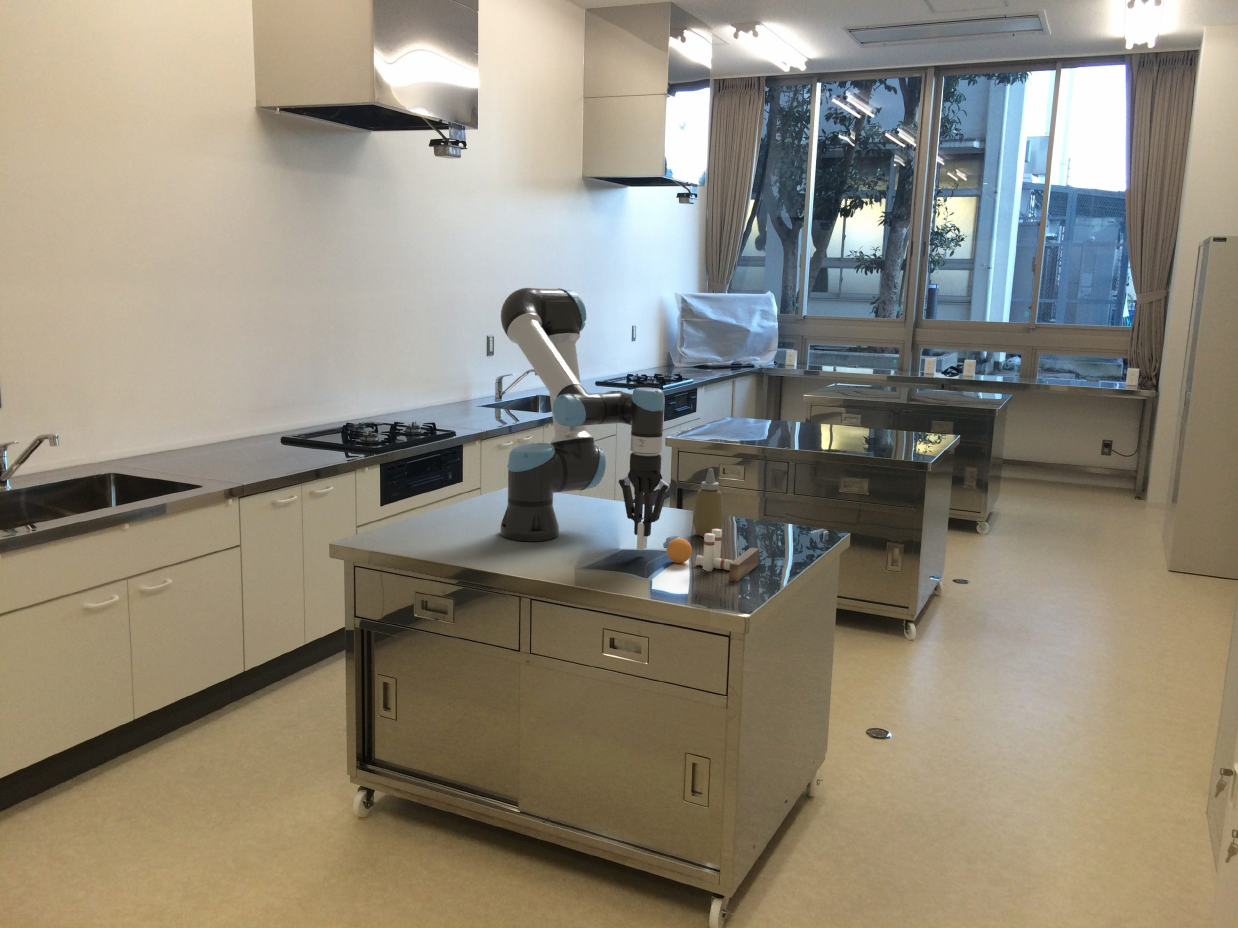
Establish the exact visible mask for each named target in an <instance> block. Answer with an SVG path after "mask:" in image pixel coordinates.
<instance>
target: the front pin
mask: <svg viewBox="0 0 1238 928" xmlns="http://www.w3.org/2000/svg"><path fill="white" fill-rule="evenodd" d="M732 561H733V559H726V558H721V557H720V558H714V559H713V569H719V570H724V571H725V570H726V571H729V570H730V563H731V562H732ZM694 564H695V565H696V566H699V565H701V567H703V555H700V554H697V555H696V557H695V563H694Z"/></svg>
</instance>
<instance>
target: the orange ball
mask: <svg viewBox="0 0 1238 928" xmlns="http://www.w3.org/2000/svg"><path fill="white" fill-rule="evenodd" d="M692 552H693V548H692V545H691V543H690V542H689V541H688V540H687V539H685V538H684V537H683V538H681V537H676V538H673V539H672V540H671V541H670V542H668V545H667V547H666V555H667V557H668V558H669V560H670V561H672V562H673V563H676V564H683V563H686V562H687V561H689V559H690V558H691V556H692V554H693V553H692Z"/></svg>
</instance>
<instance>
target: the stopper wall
mask: <svg viewBox="0 0 1238 928" xmlns="http://www.w3.org/2000/svg"><path fill="white" fill-rule="evenodd" d="M759 551H760V549H759V548H757V547H750V548H748V549H747V550H746V551H744V552H743V553H742V554H740V555H739V556H738V557H736V558H735V559H734V560H732V562H731V563H730V570H728V571H729V572H728V574H729V575H728V581H729V582H730V581H731V582H739V581H740V580H741V579H743V578H744V577H746V576H747V574H749V573H750V572H751V571H752V570H754V569H755V568H756V567H757V566H758V565H759Z"/></svg>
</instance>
